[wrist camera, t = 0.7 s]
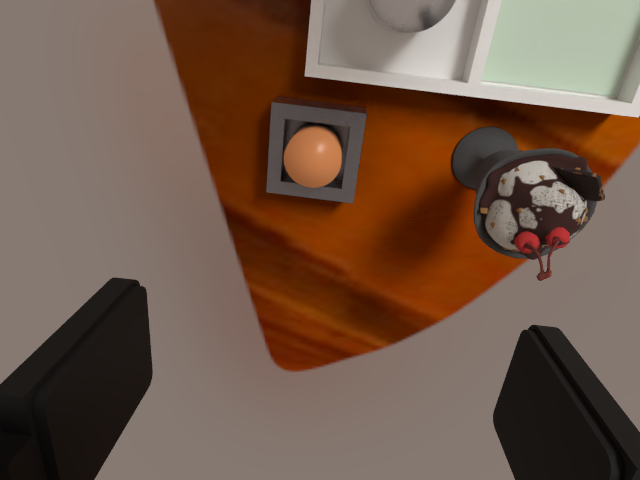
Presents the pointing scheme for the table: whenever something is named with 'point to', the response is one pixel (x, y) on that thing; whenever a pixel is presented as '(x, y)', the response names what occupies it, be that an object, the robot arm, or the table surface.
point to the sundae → (525, 194)
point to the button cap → (313, 156)
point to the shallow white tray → (491, 51)
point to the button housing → (335, 116)
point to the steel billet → (409, 13)
